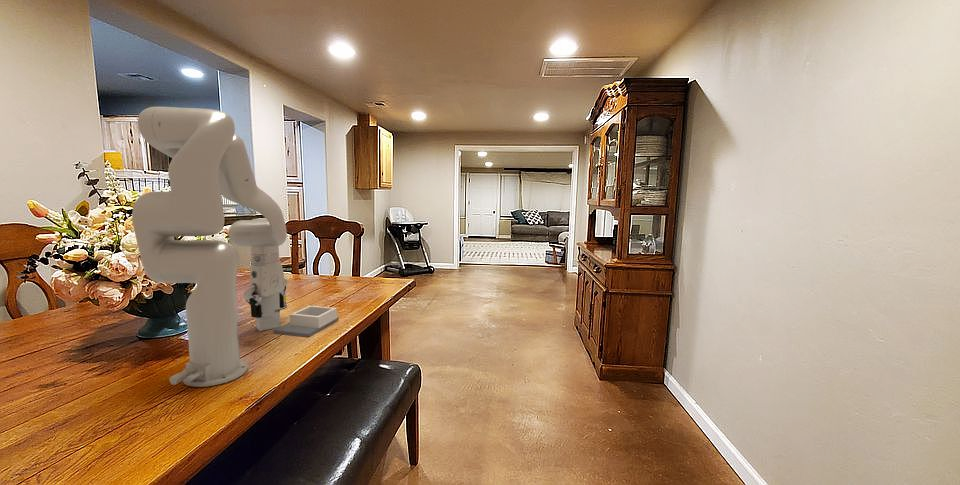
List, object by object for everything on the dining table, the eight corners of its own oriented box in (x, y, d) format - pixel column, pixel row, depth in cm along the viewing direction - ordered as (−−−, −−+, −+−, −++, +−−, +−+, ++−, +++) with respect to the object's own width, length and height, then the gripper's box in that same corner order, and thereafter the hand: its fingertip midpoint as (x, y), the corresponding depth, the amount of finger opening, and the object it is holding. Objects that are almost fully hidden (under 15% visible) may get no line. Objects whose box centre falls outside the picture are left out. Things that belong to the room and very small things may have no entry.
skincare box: (259, 331, 119) (257, 292, 118) (255, 327, 122) (253, 289, 121) (281, 327, 123) (279, 289, 122) (276, 323, 127) (275, 286, 125)
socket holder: (308, 337, 116) (308, 322, 115) (273, 333, 118) (272, 318, 117) (338, 320, 131) (338, 307, 131) (306, 316, 134) (306, 304, 133)
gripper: (254, 264, 111) (258, 322, 114) (294, 254, 128) (297, 305, 130) (232, 263, 112) (235, 320, 115) (274, 253, 129) (277, 303, 132)
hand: (268, 312), depth 123 cm, fingers open, 9 cm apart
